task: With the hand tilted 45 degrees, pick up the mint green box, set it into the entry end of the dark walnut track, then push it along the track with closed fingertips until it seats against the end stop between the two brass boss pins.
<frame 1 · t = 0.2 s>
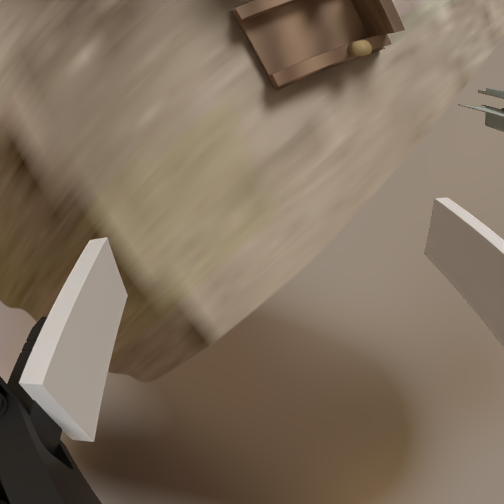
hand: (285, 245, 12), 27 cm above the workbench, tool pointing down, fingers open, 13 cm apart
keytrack: (310, 26, 30), on the workbench
bracket: (493, 105, 36), on the workbench
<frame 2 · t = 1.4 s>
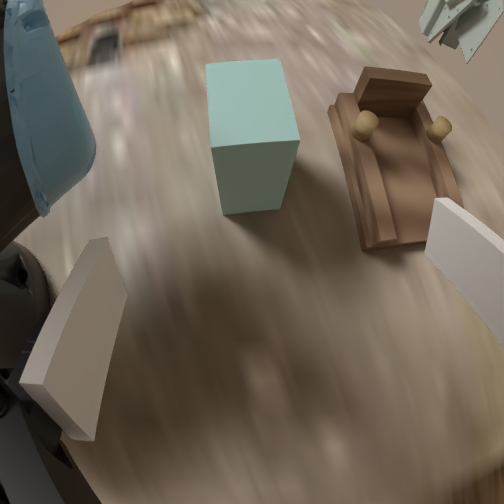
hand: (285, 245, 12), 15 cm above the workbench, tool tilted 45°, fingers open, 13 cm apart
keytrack: (394, 172, 29), on the workbench
bracket: (435, 34, 36), on the workbench
mint green box: (247, 176, 29), on the workbench
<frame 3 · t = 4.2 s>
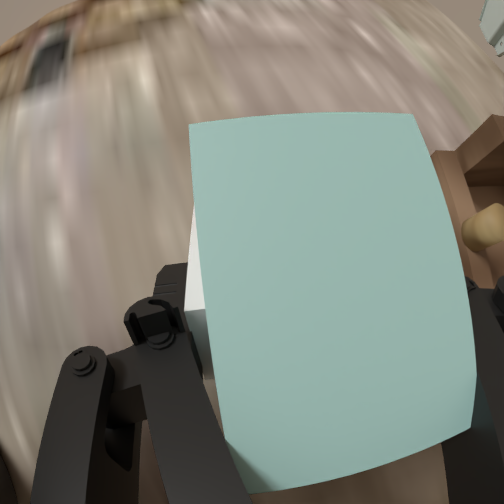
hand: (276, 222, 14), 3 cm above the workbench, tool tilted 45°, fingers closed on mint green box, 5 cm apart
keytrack: (494, 277, 17), on the workbench
bracket: (499, 44, 24), on the workbench
mint green box: (281, 313, 16), on the workbench, touching gripper
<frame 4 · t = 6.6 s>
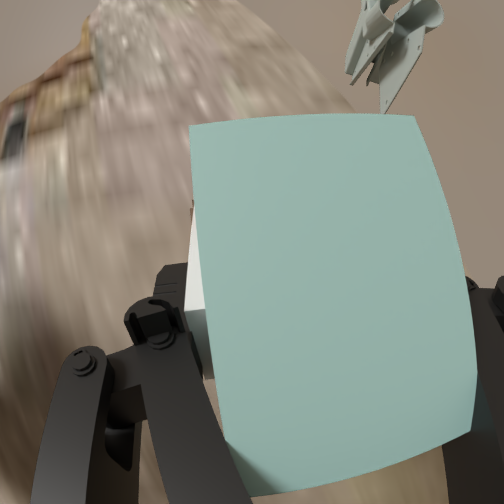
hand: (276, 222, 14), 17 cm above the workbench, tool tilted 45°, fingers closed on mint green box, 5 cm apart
bracket: (365, 70, 38), on the workbench
mint green box: (281, 314, 16), point 14 cm above the workbench, touching gripper
when the fingers open (6 cm above the workbench, at t = 8.9 s): mint green box drops 1 cm, resting on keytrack.
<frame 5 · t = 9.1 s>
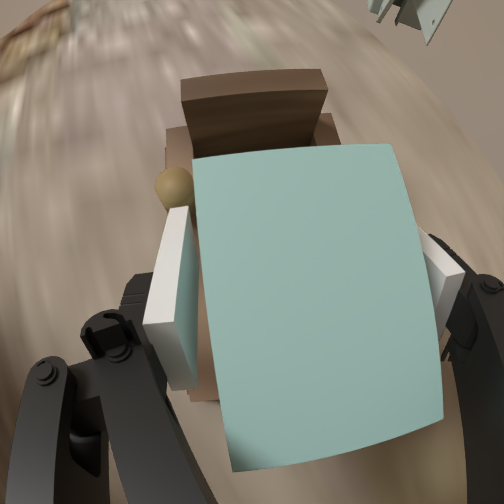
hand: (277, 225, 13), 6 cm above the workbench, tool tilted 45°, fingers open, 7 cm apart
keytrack: (266, 253, 19), on the workbench
bracket: (391, 12, 26), on the workbench
mint green box: (277, 316, 17), point 1 cm above the workbench, touching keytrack
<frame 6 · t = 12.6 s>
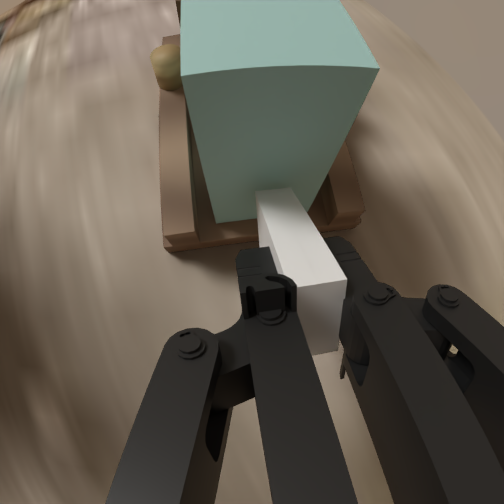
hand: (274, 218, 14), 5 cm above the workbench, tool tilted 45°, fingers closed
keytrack: (246, 130, 20), on the workbench
mint green box: (253, 161, 18), point 1 cm above the workbench, touching gripper
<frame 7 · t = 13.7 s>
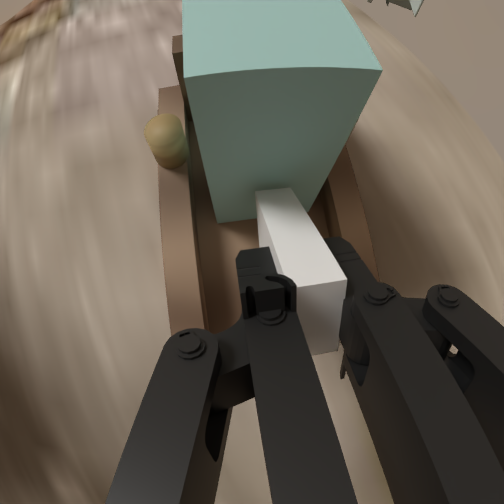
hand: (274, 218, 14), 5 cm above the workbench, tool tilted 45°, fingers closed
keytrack: (257, 208, 19), on the workbench
mint green box: (253, 161, 18), point 1 cm above the workbench, touching gripper, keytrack
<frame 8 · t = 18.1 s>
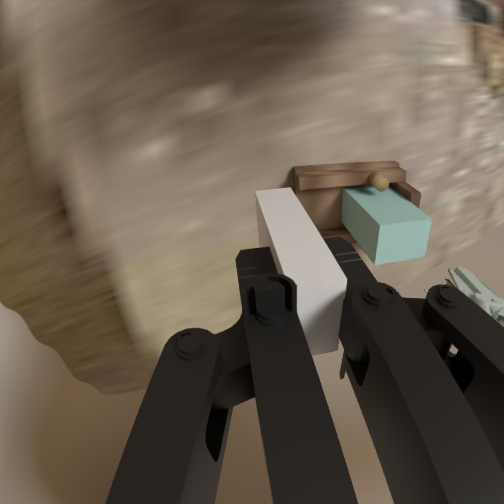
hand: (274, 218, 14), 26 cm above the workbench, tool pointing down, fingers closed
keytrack: (346, 200, 43), on the workbench
bracket: (455, 279, 55), on the workbench
mint green box: (365, 202, 42), point 1 cm above the workbench, touching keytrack
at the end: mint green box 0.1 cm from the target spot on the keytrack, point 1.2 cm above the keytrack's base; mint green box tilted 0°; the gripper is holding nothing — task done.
